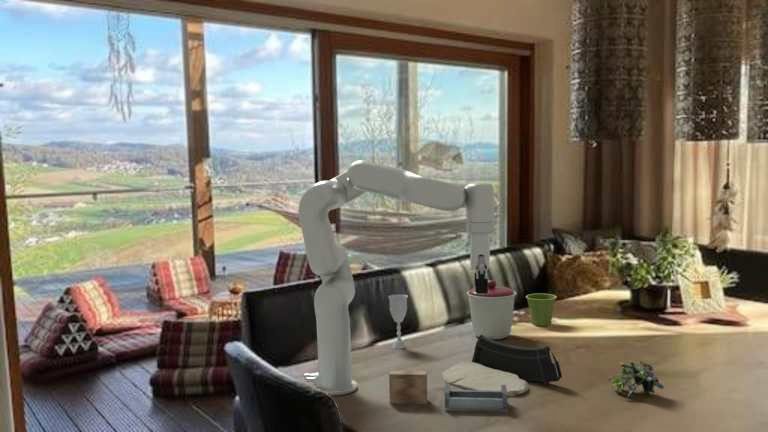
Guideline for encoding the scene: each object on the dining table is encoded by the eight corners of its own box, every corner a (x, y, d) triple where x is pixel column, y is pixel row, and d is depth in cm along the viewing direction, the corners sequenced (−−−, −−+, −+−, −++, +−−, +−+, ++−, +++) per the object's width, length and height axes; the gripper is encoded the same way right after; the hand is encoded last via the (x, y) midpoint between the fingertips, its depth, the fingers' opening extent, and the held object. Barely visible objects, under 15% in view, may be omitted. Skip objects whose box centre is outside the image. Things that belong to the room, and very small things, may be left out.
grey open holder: (445, 410, 170) (444, 392, 170) (445, 401, 177) (445, 383, 177) (507, 412, 168) (507, 393, 168) (506, 402, 175) (505, 384, 175)
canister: (527, 337, 241) (526, 280, 239) (491, 345, 231) (490, 286, 229) (492, 328, 256) (492, 274, 254) (457, 335, 246) (456, 279, 244)
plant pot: (524, 320, 266) (524, 293, 265) (554, 321, 265) (554, 293, 264) (527, 328, 254) (526, 299, 254) (558, 328, 253) (558, 299, 252)
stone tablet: (467, 366, 209) (466, 359, 209) (540, 390, 185) (540, 381, 185) (427, 377, 199) (427, 369, 199) (499, 404, 175) (499, 395, 175)
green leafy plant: (645, 412, 180) (673, 382, 175) (624, 414, 174) (652, 383, 169) (618, 380, 188) (644, 351, 183) (596, 382, 181) (622, 351, 176)
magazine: (465, 337, 208) (542, 324, 187) (471, 335, 210) (549, 322, 189) (478, 391, 206) (558, 385, 184) (484, 389, 208) (564, 382, 187)
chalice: (398, 350, 228) (396, 299, 226) (385, 346, 233) (383, 296, 231) (413, 346, 232) (412, 296, 231) (400, 342, 237) (399, 293, 236)
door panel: (389, 403, 177) (389, 374, 177) (391, 399, 180) (390, 370, 180) (426, 404, 176) (426, 374, 175) (427, 399, 179) (426, 371, 178)
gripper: (466, 225, 189) (467, 284, 190) (466, 231, 172) (467, 296, 173) (492, 225, 188) (493, 284, 189) (495, 231, 171) (496, 296, 172)
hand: (481, 290), depth 181 cm, fingers open, 9 cm apart
